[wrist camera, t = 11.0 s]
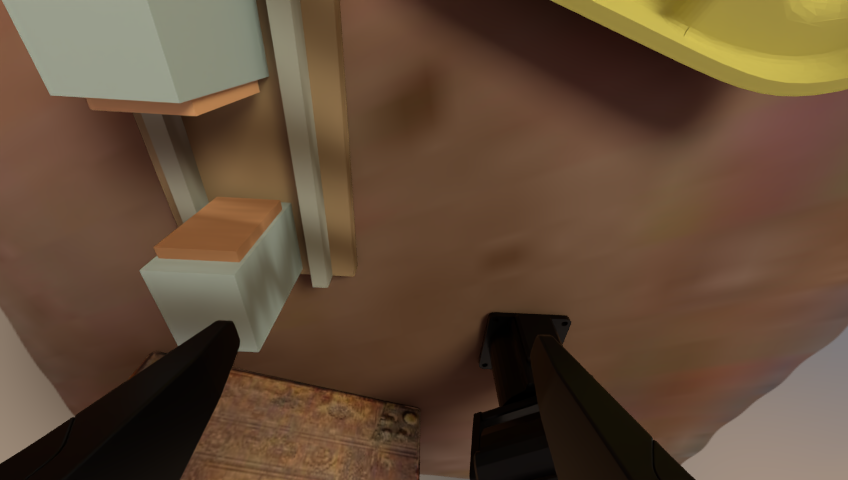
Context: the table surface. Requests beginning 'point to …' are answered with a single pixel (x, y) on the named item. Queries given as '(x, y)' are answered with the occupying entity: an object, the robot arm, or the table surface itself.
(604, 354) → the table surface
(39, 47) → the grey green block
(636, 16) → the plastic component
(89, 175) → the table surface
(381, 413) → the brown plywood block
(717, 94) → the table surface
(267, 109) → the rail
